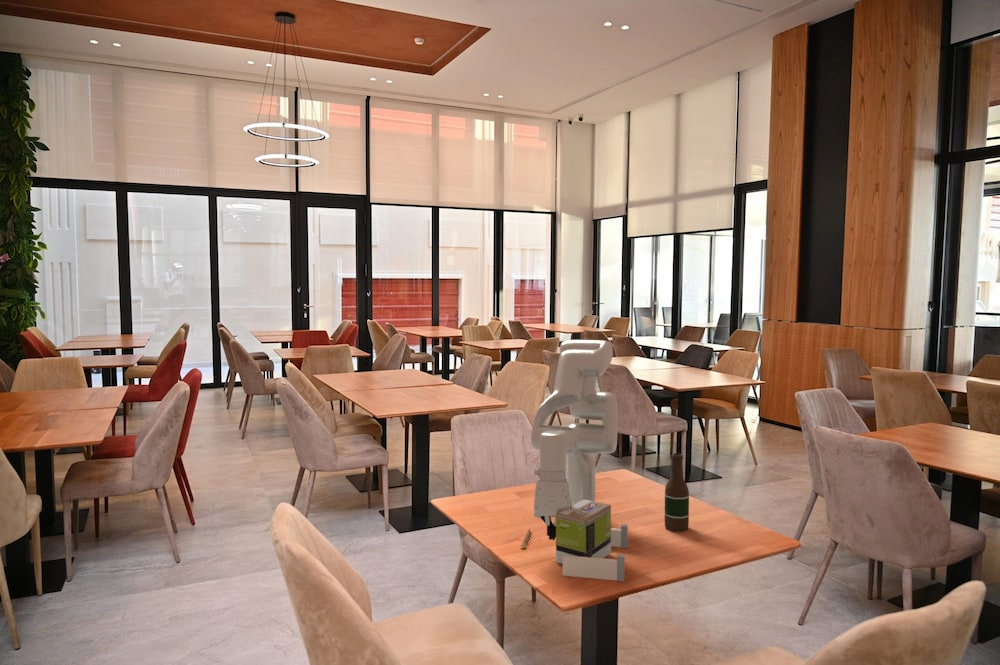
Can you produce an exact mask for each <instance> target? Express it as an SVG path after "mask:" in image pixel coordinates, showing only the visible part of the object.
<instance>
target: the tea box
mask: <svg viewBox="0 0 1000 665" xmlns="http://www.w3.org/2000/svg"><path fill="white" fill-rule="evenodd" d="M611 511H612V506H611V504H607V503H603V502H597V501H595V502H594V501H589V500H584V499H581V500H579V501H577V502H575V503H573V504H571V506H570V509H569V510H560V511H559V512H556V538H555V562H556V563H558V564H561V565H563V555H567V556H579V557H591V558H603V559H606V558H607V556H609V555H610V554H611V553H612V552H611V551H612V546H611V528H612V512H611Z"/></svg>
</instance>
